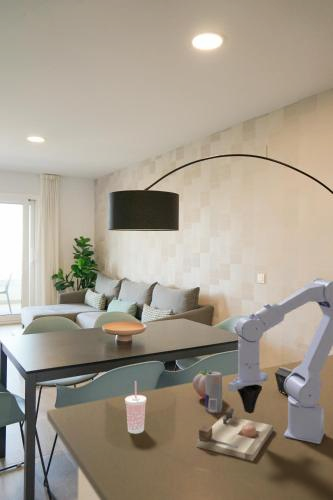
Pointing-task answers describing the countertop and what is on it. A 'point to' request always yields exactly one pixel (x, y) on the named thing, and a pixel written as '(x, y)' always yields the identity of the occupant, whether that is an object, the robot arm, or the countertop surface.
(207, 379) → the energy drink
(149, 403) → the countertop surface
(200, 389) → the decorative fruit
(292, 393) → the robot arm
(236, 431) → the control panel
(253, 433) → the terracotta button
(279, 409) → the countertop surface
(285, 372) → the electrical switch
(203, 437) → the walnut slider
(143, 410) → the beverage cup
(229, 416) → the grey rectangular block
